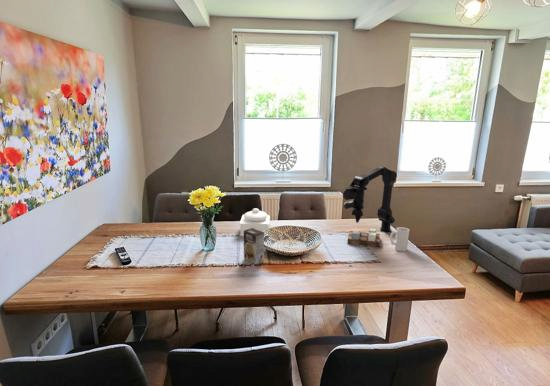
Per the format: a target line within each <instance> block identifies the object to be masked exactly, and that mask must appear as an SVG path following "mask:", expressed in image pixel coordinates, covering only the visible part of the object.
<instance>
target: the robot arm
mask: <svg viewBox="0 0 550 386" xmlns="http://www.w3.org/2000/svg"><path fill="white" fill-rule="evenodd" d="M380 176H381V180H382V183H383V193H382V198H381V199H382V200H381V201H382V202H381V206H380V207H379V208H378V209H377V213H376V215H377V218H378V221H381V226H380V228H379V230H380V232H384V233H392V230H391V229H392V227H391V225H392V224H394V223H395V221H396V219H395V218H394V217H393V211H392V209H391V201H392V200H391V199H392V192H393V185H394V184H395V182H396V181H397V176H398V175H397V172H396V171H394V170H391V169H388V168H387V167H385V166H382V165H381V166H380V165H379V166H377V167H376V168H374V169H371V170H370V171H369V172H367V173H365V174H359V175H356V176H355V177H354V178H353V180H352V181H351V183H350V184H349V187H347V188H345V190H344V191H343V193H342V196H343V199H344V200H345V202H344V203H343V207H344V209H345V210H348V209H351V208H352V210H351V216H354V217H355V222H356V224H357V223H359V222H360V220H361V218H362V217H363V216H364V210H363V209H364V208H365V203H364V202H365V191H367V190H368V188H367V185H369V184H370V182H371V181H372V180H374V179H376V178H377V177H380Z"/></svg>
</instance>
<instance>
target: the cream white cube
mask: <svg viewBox="0 0 550 386" xmlns="http://www.w3.org/2000/svg"><path fill="white" fill-rule="evenodd" d="M368 233H369V232H368ZM376 234H377V232H376V233H369V235H368V241H374V242H375V239H376Z"/></svg>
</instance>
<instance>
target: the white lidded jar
mask: <svg viewBox="0 0 550 386" xmlns="http://www.w3.org/2000/svg"><path fill="white" fill-rule="evenodd" d="M270 220H271V216H270V214H268V213H266V212H265V211H262V210H260V209H259V208H256V207H255V208H252V210H250V211H247V212H245V213H244V214H242V216H241V219H240V221H239V225H240V228H239V229H240V237H241V236H244V230H247V229H251V228H254V229H256V230H259V231H262V232H263V231H264V230H266V229H269V228H270V227H271V221H270ZM270 229H271V228H270Z"/></svg>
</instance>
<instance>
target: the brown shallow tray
mask: <svg viewBox="0 0 550 386" xmlns="http://www.w3.org/2000/svg"><path fill="white" fill-rule="evenodd" d="M352 234H353V230H349V232H348V235H347V242H346V243H347V245H354V246H360V245H361V247H363V246H364V247H372V248H380V244H381V239H380V238H381V235H380V233H376V239H375V242H374V241H368V234H369V232H364V231H363V232H362V231H360V238H359V240H356V239H352Z"/></svg>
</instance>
